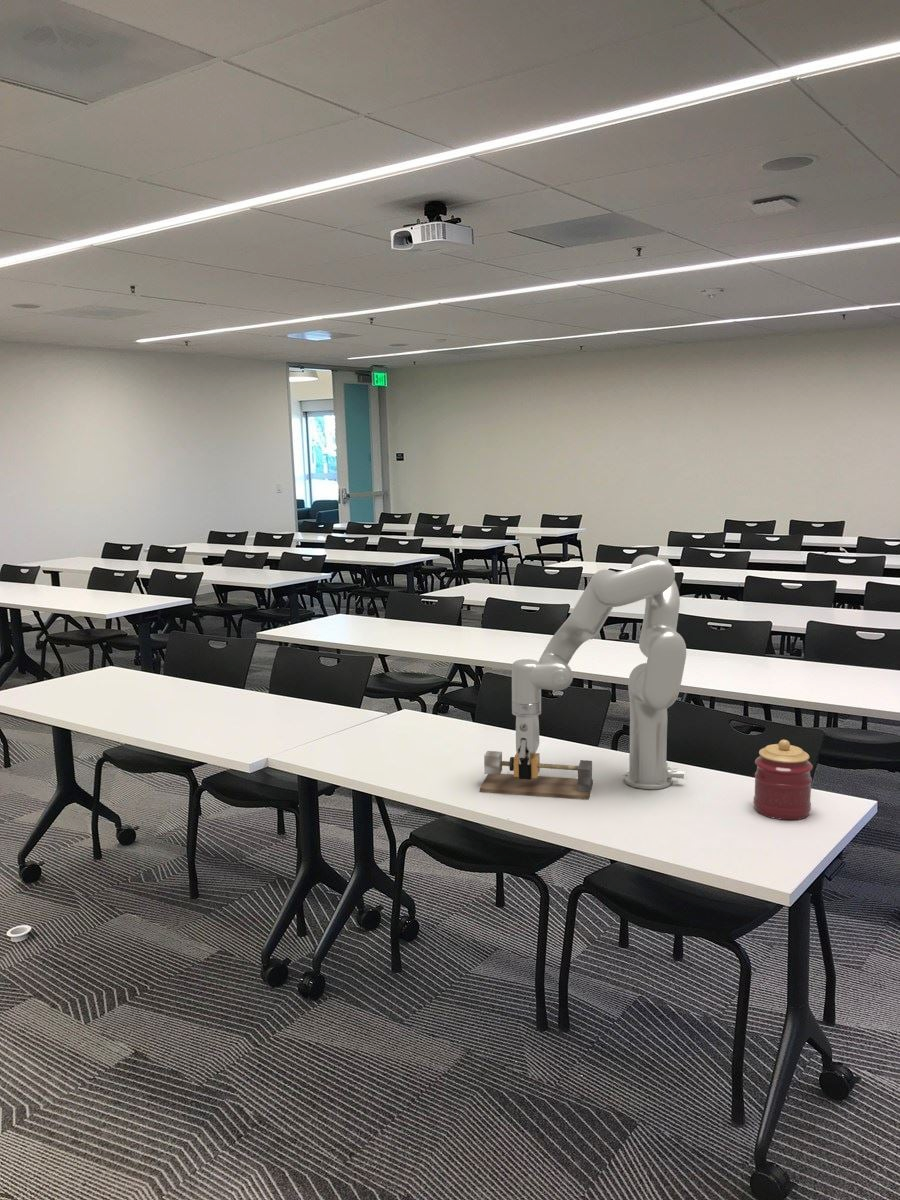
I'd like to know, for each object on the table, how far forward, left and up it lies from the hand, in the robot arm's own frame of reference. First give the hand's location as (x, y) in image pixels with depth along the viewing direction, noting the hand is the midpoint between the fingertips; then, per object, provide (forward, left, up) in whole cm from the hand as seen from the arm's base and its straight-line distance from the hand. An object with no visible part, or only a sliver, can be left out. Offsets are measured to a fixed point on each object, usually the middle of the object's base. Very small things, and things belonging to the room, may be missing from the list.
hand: (526, 774), depth 236 cm
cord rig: (-3, 0, -3) cm, 4 cm away
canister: (-63, +4, -4) cm, 63 cm away
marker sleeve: (0, 0, 0) cm, 0 cm away
